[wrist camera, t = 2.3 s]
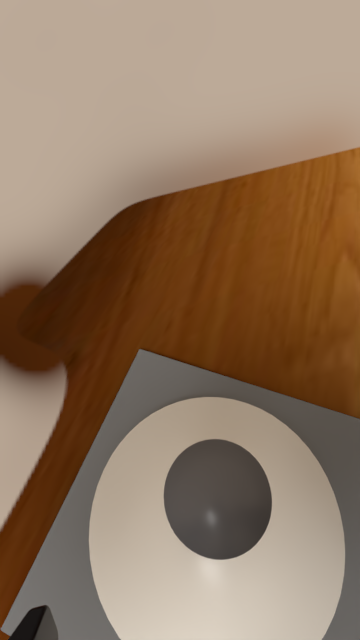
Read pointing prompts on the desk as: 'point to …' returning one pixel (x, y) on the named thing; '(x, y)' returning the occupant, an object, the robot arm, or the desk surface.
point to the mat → (125, 413)
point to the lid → (216, 529)
